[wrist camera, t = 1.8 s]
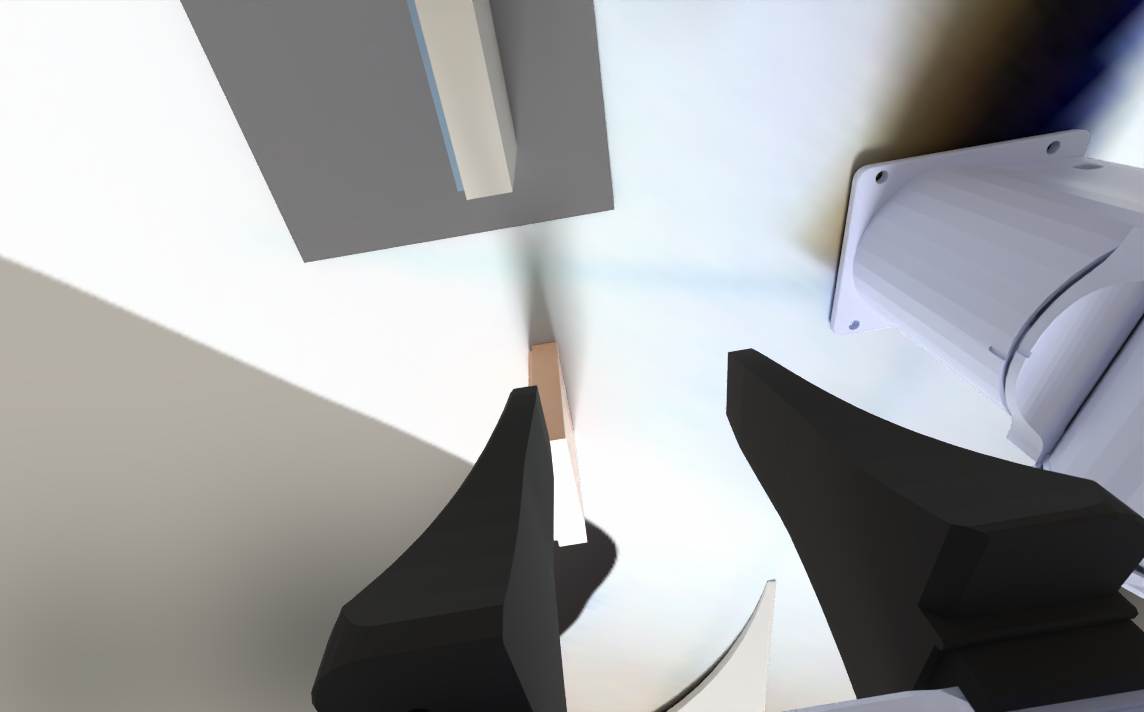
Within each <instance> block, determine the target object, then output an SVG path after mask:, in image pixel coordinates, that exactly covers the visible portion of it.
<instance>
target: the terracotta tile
mask: <svg viewBox="0 0 1144 712" xmlns="http://www.w3.org/2000/svg"><path fill="white" fill-rule="evenodd" d="M534 385H537V387H538V391H539V396H540V400H541V404H542V409H543V413H544V417H545V421H546V426H547V430H548V434H549V439H550V443H551V451H552V460H553V470H554V540H558V542H559V546H565V545H571V544H578V543H584V542H587V536H586V528H585V520H584V511H583V503H582V495H581V487H580V478H579V470H578V462H577V453H576V445H575V437H574V431H573V425H572V420H571V415H570V410H569V405H568V400H567V395H566V389H565V384H564V379H563V374H562V369H561V364H560V359H559V354H558V348H557V343H556V342H550V343H544V344H538V345H532V351H530V352H529V386H534Z"/></svg>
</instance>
